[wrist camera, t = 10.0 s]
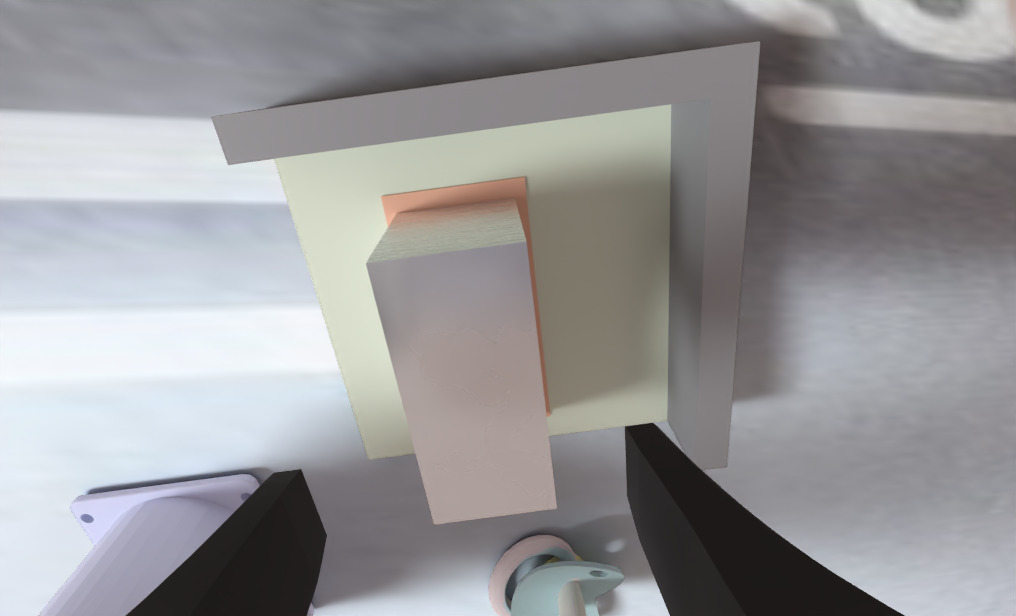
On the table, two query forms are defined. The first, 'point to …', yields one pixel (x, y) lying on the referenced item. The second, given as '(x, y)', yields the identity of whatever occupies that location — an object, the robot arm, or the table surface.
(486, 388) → the aluminium bar
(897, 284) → the table surface
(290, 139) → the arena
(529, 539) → the pacifier
